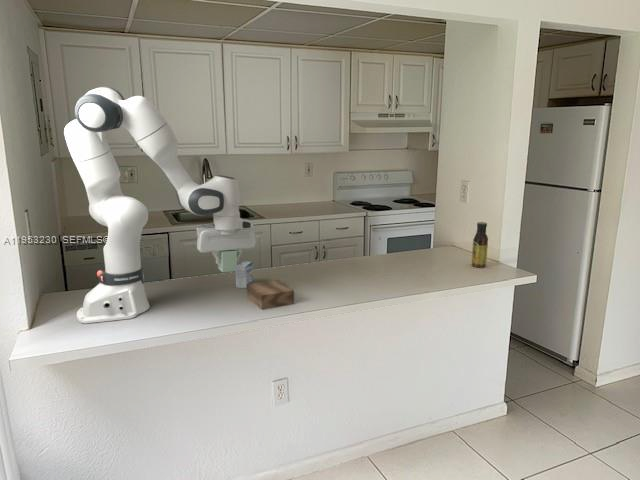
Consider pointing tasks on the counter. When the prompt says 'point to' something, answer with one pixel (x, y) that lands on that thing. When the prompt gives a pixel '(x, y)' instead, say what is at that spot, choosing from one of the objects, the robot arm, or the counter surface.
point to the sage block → (228, 260)
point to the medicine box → (244, 274)
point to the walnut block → (270, 294)
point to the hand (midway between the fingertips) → (227, 262)
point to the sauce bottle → (480, 246)
